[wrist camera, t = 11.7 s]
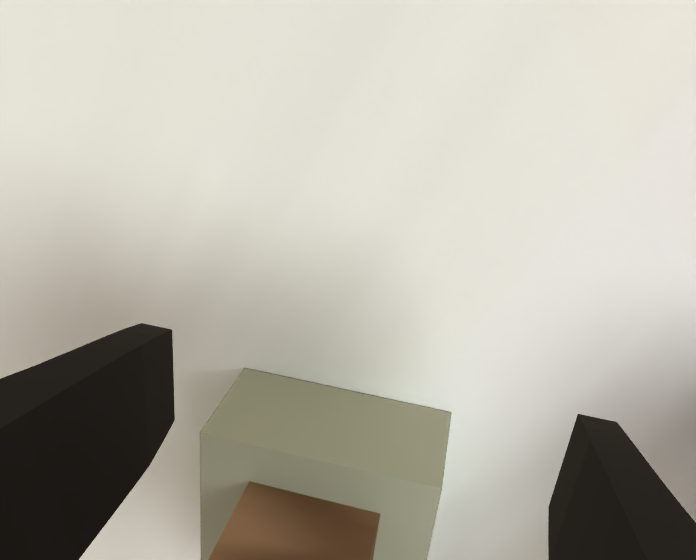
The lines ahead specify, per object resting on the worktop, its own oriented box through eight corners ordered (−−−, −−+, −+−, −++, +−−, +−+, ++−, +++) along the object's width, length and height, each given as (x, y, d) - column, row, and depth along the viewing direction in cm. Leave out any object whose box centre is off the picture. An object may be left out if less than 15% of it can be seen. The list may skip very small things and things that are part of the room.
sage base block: (451, 412, 23) (441, 489, 19) (419, 566, 26) (406, 654, 23) (244, 368, 24) (200, 432, 21) (239, 519, 28) (201, 597, 24)
